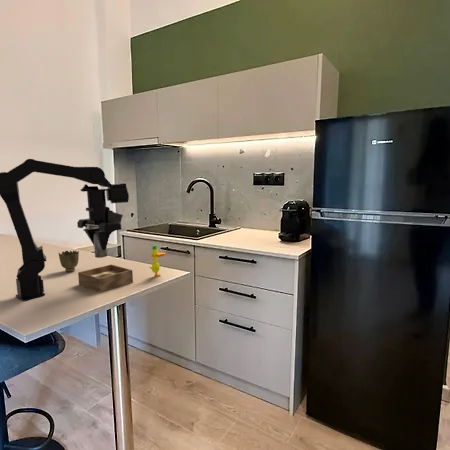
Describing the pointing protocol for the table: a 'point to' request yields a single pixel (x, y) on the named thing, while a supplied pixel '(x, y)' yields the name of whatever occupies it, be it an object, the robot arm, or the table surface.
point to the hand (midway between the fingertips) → (100, 249)
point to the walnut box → (105, 277)
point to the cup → (69, 260)
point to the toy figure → (155, 255)
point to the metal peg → (98, 248)
